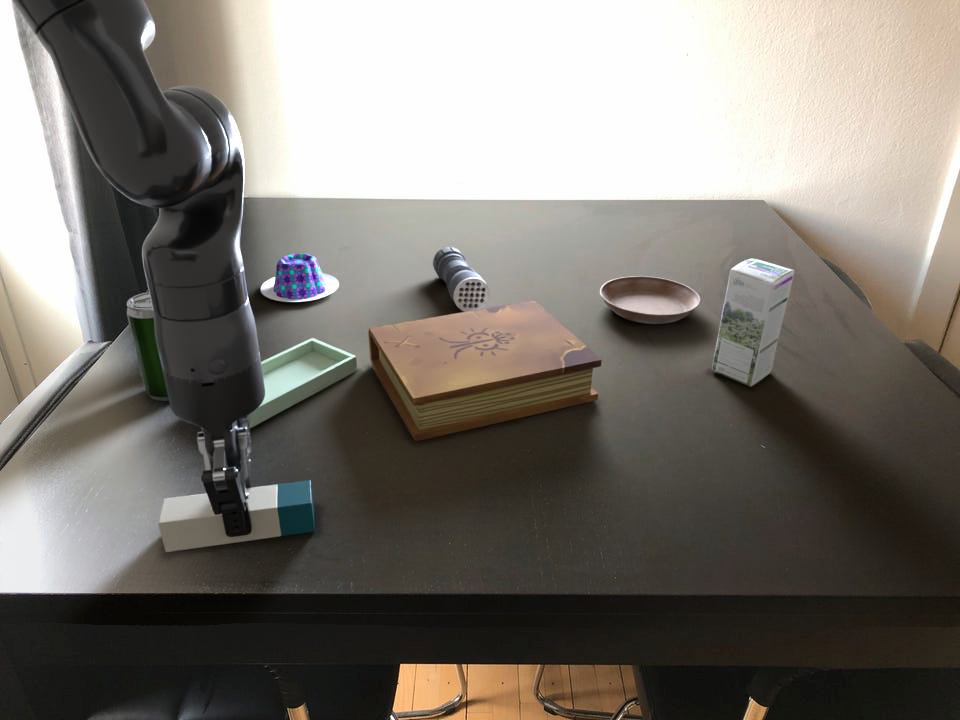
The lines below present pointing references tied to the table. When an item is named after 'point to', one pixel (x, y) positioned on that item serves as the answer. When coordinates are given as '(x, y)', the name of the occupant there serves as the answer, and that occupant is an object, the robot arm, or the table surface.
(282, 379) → the pen tray
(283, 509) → the marker
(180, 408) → the robot arm
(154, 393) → the beer can
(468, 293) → the flashlight
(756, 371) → the syrup box
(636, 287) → the saucer
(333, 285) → the pudding
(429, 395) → the diary
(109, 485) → the table surface
